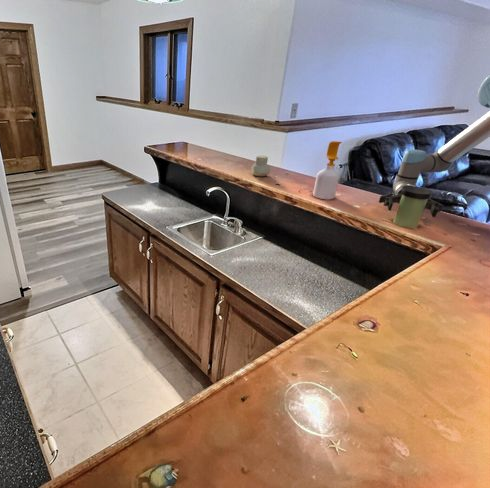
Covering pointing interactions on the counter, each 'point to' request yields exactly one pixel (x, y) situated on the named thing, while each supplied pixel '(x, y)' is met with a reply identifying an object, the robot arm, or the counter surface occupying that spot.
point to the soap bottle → (328, 175)
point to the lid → (416, 192)
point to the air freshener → (260, 166)
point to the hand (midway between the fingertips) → (412, 210)
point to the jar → (409, 212)
